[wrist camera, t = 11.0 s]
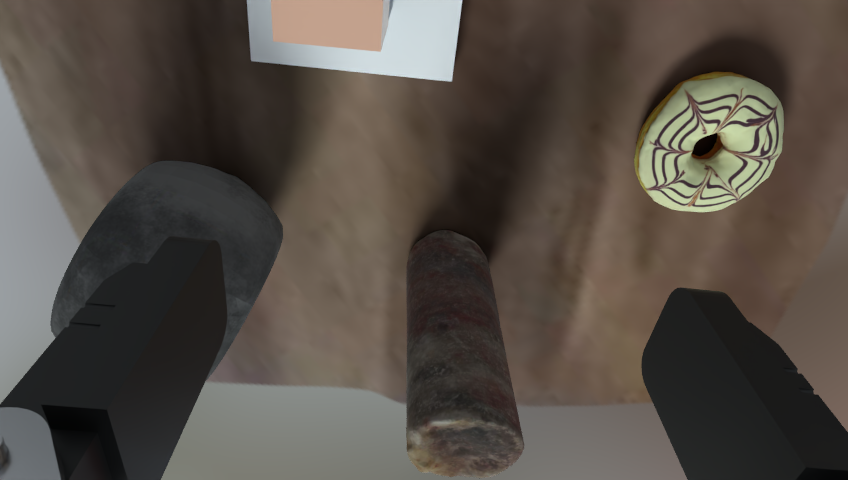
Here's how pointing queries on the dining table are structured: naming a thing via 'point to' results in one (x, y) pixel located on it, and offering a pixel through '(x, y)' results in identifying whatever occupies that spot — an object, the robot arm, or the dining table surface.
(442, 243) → the brown cylinder
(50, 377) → the robot arm
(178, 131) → the dining table surface
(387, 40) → the white flat square slab
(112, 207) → the pitcher
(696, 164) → the decorated donut
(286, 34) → the peach block
